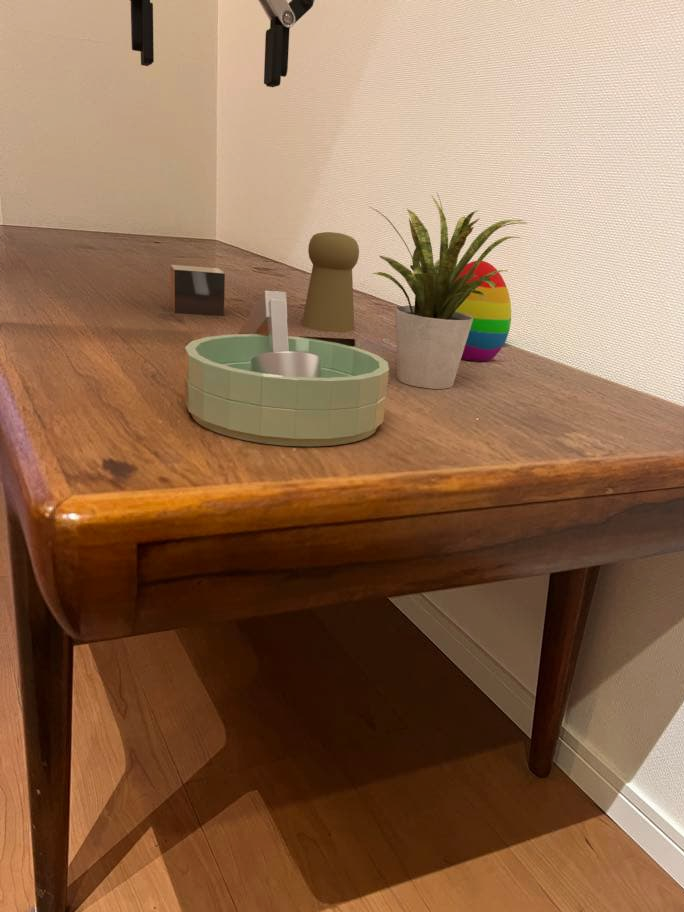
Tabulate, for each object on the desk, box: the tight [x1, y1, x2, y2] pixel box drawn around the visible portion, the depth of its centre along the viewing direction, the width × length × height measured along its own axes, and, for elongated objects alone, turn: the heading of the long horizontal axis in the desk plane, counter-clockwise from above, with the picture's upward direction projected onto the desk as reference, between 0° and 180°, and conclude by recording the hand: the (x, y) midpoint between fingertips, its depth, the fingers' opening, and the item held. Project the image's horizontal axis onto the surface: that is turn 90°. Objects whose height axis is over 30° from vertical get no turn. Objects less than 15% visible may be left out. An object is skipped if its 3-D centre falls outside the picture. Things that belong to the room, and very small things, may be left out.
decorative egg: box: [455, 260, 512, 362], centre depth 84 cm, size 8×8×10 cm
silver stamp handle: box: [237, 290, 322, 378], centre depth 62 cm, size 18×5×8 cm, turn 21°
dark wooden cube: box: [169, 264, 226, 317], centre depth 82 cm, size 5×4×6 cm
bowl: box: [184, 333, 390, 447], centre depth 56 cm, size 14×14×4 cm
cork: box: [298, 231, 360, 347], centre depth 82 cm, size 6×6×11 cm
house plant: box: [366, 193, 526, 390], centre depth 69 cm, size 14×14×16 cm
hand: (211, 75), depth 61 cm, fingers open, 9 cm apart
